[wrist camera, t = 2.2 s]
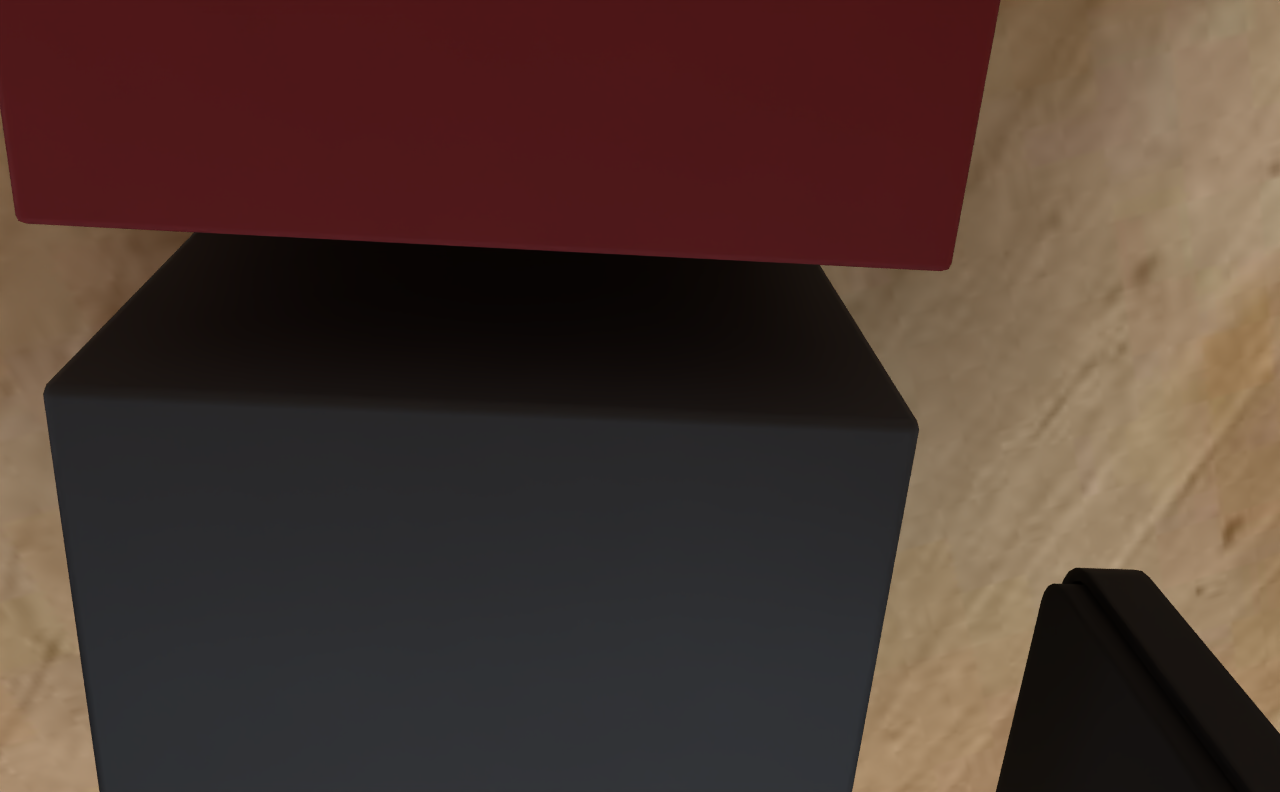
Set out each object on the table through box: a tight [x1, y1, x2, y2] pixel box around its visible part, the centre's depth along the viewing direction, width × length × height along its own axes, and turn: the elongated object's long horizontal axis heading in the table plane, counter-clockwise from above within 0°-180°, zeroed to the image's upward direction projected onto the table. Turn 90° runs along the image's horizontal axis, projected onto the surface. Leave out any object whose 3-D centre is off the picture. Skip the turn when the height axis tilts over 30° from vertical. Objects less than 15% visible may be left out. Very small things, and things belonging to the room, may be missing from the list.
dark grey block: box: [43, 232, 919, 792], centre depth 11 cm, size 6×6×4 cm
